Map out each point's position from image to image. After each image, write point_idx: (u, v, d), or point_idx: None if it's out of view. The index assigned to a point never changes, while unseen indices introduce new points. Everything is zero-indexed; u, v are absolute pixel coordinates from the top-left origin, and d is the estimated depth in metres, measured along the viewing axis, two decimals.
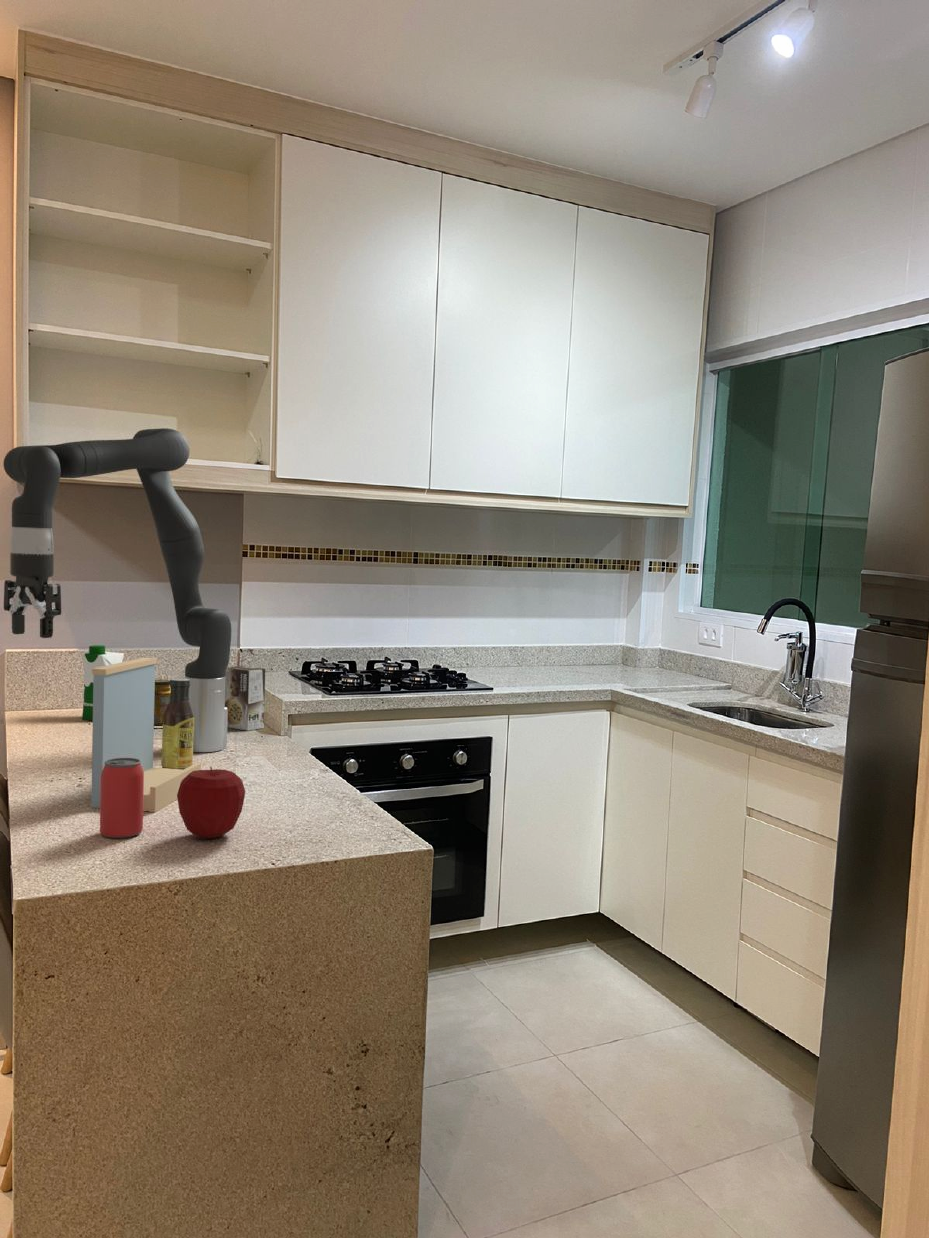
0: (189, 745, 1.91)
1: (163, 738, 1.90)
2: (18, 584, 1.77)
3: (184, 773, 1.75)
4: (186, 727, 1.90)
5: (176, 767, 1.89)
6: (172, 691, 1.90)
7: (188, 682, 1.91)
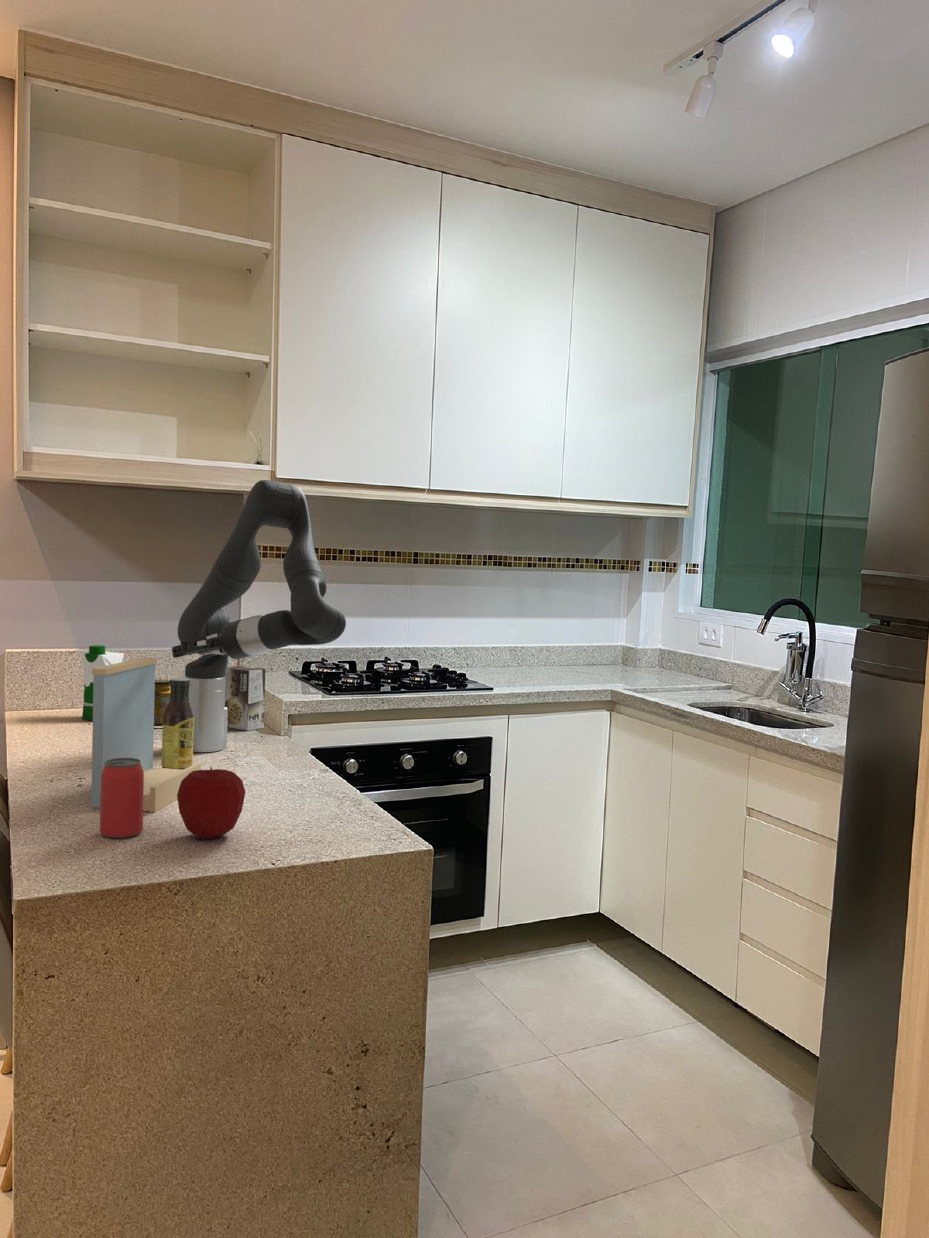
0: (189, 745, 1.91)
1: (163, 738, 1.90)
2: (217, 648, 1.81)
3: (184, 773, 1.75)
4: (186, 727, 1.90)
5: (176, 767, 1.89)
6: (172, 691, 1.90)
7: (188, 682, 1.91)
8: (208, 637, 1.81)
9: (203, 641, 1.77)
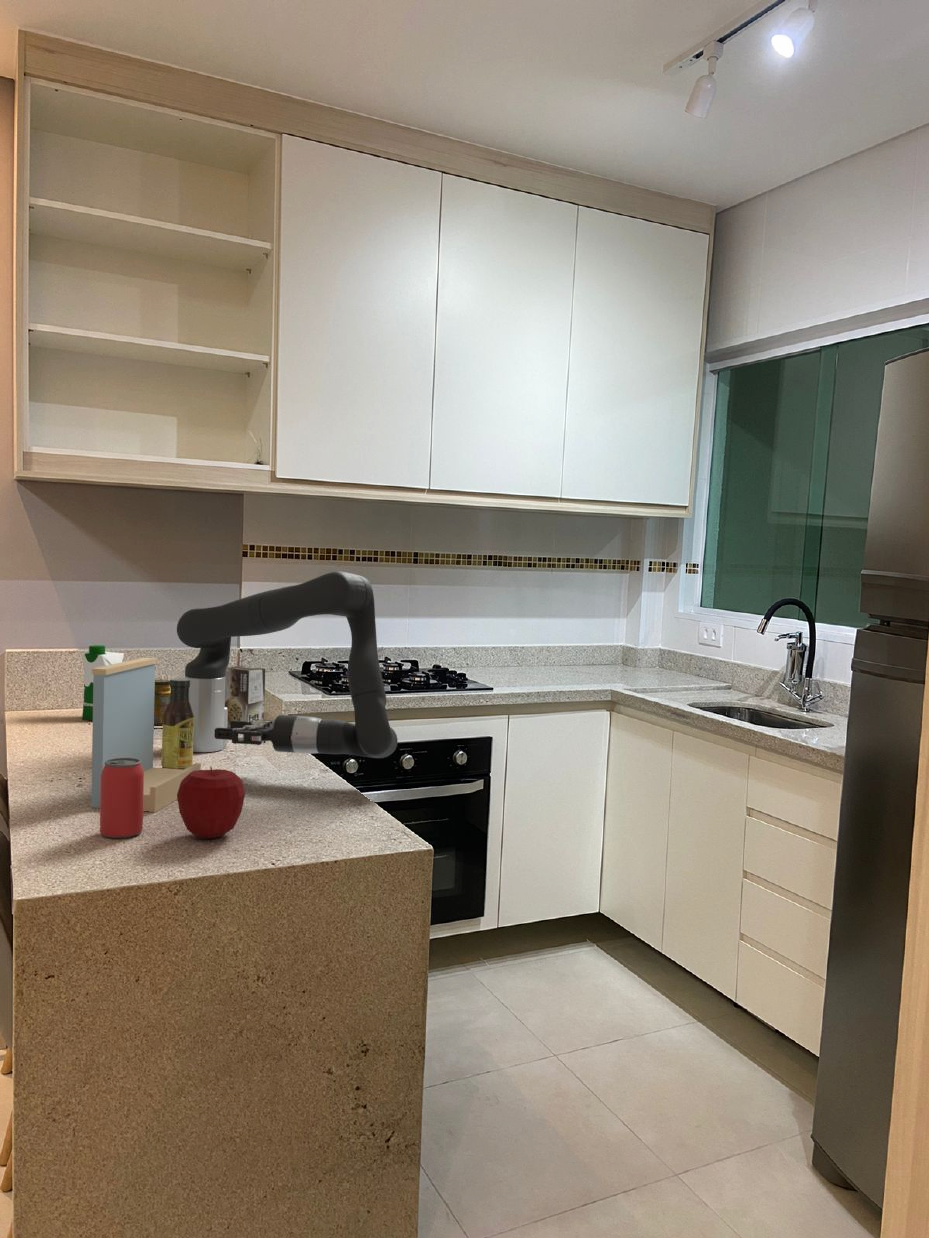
0: (189, 745, 1.91)
1: (163, 738, 1.90)
2: None
3: (184, 773, 1.75)
4: (186, 727, 1.90)
5: (176, 767, 1.89)
6: (172, 691, 1.90)
7: (188, 682, 1.91)
8: (256, 727, 1.87)
9: (259, 737, 1.83)
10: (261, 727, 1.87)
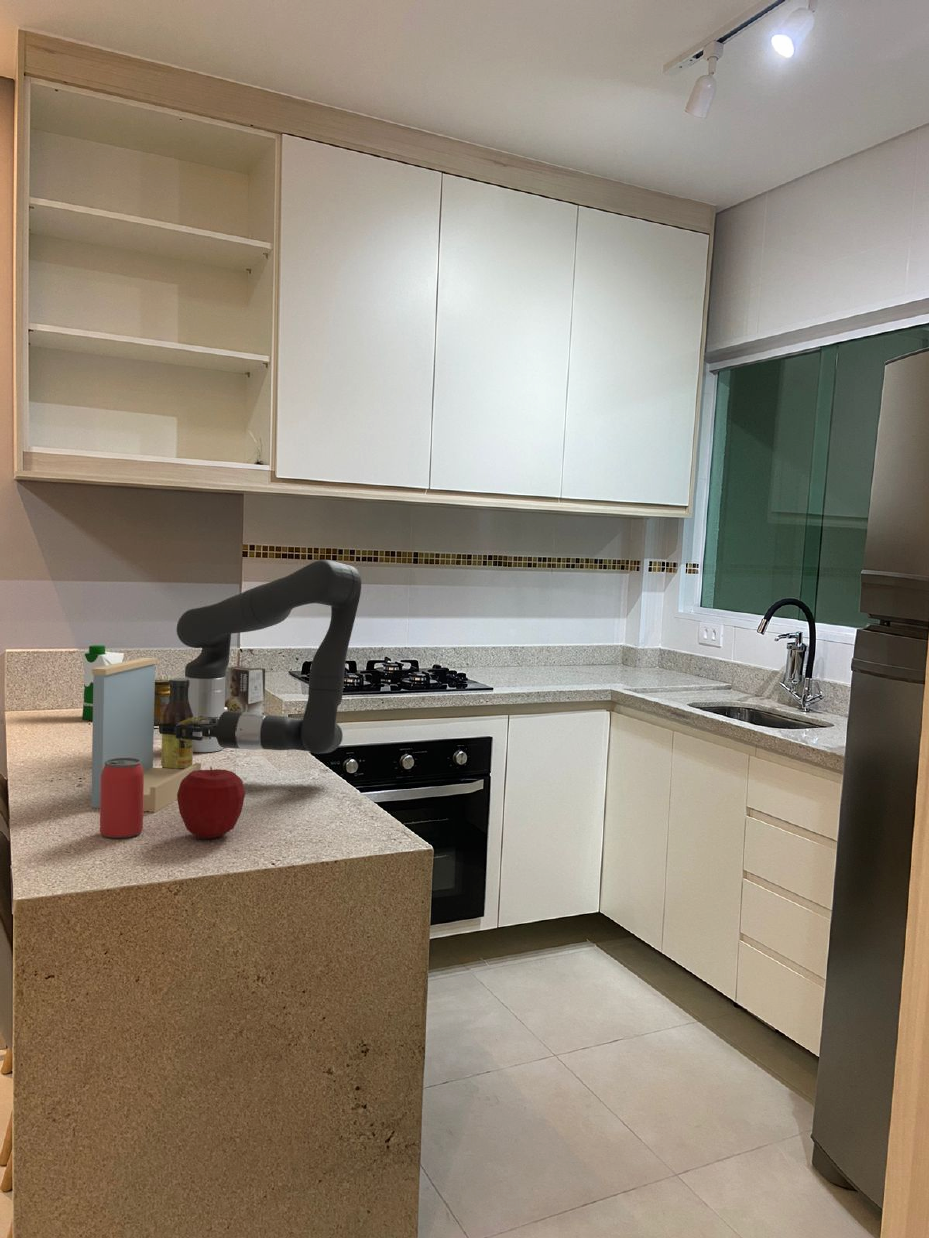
0: (189, 745, 1.91)
1: (163, 738, 1.90)
2: None
3: (184, 773, 1.75)
4: None
5: (176, 767, 1.89)
6: (171, 691, 1.90)
7: (187, 682, 1.91)
8: (200, 723, 1.88)
9: (199, 733, 1.84)
10: (206, 724, 1.89)
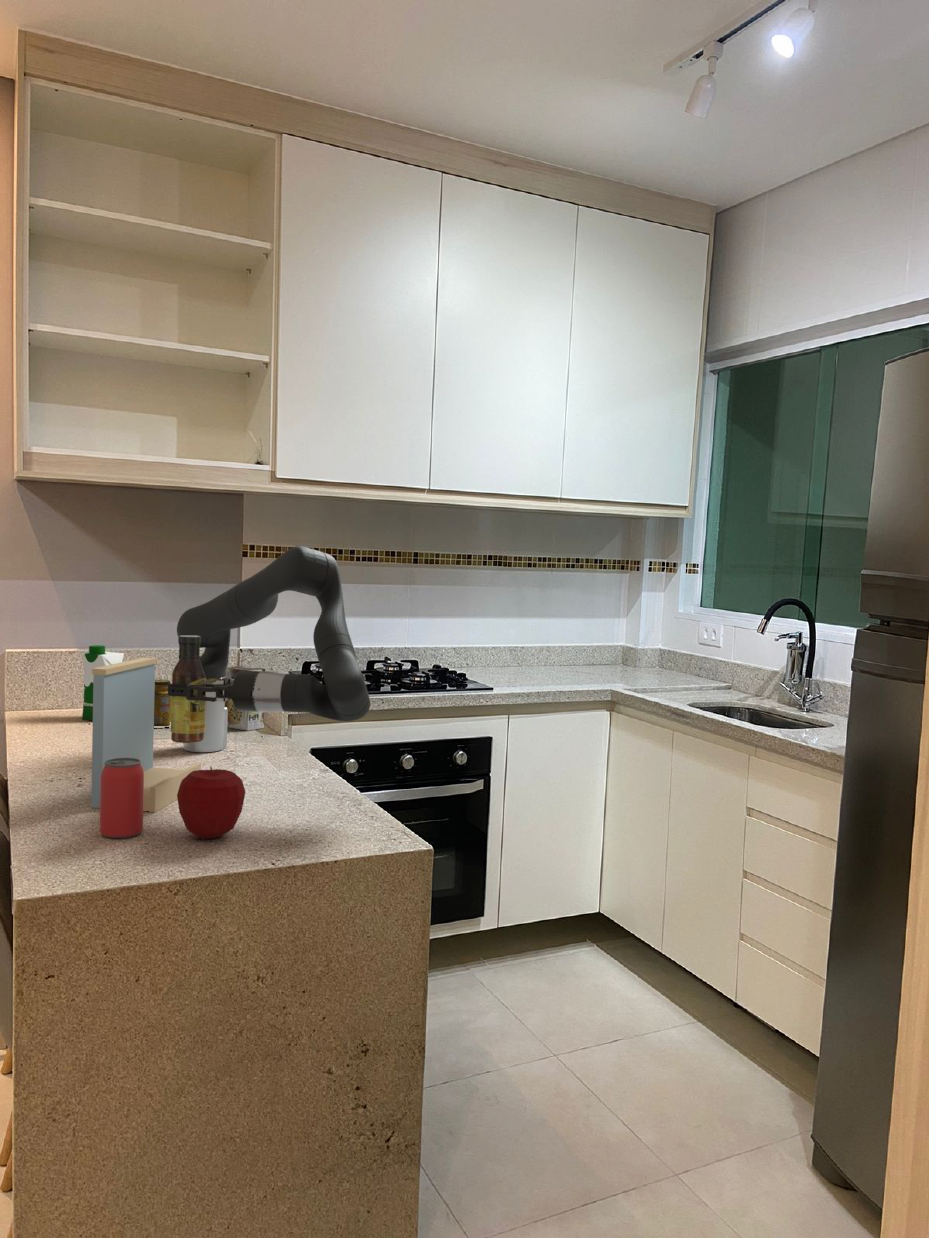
0: (201, 709, 1.72)
1: (172, 701, 1.71)
2: None
3: (184, 773, 1.75)
4: None
5: (187, 733, 1.70)
6: (181, 649, 1.71)
7: (198, 639, 1.72)
8: (213, 683, 1.70)
9: (213, 693, 1.65)
10: (220, 684, 1.70)
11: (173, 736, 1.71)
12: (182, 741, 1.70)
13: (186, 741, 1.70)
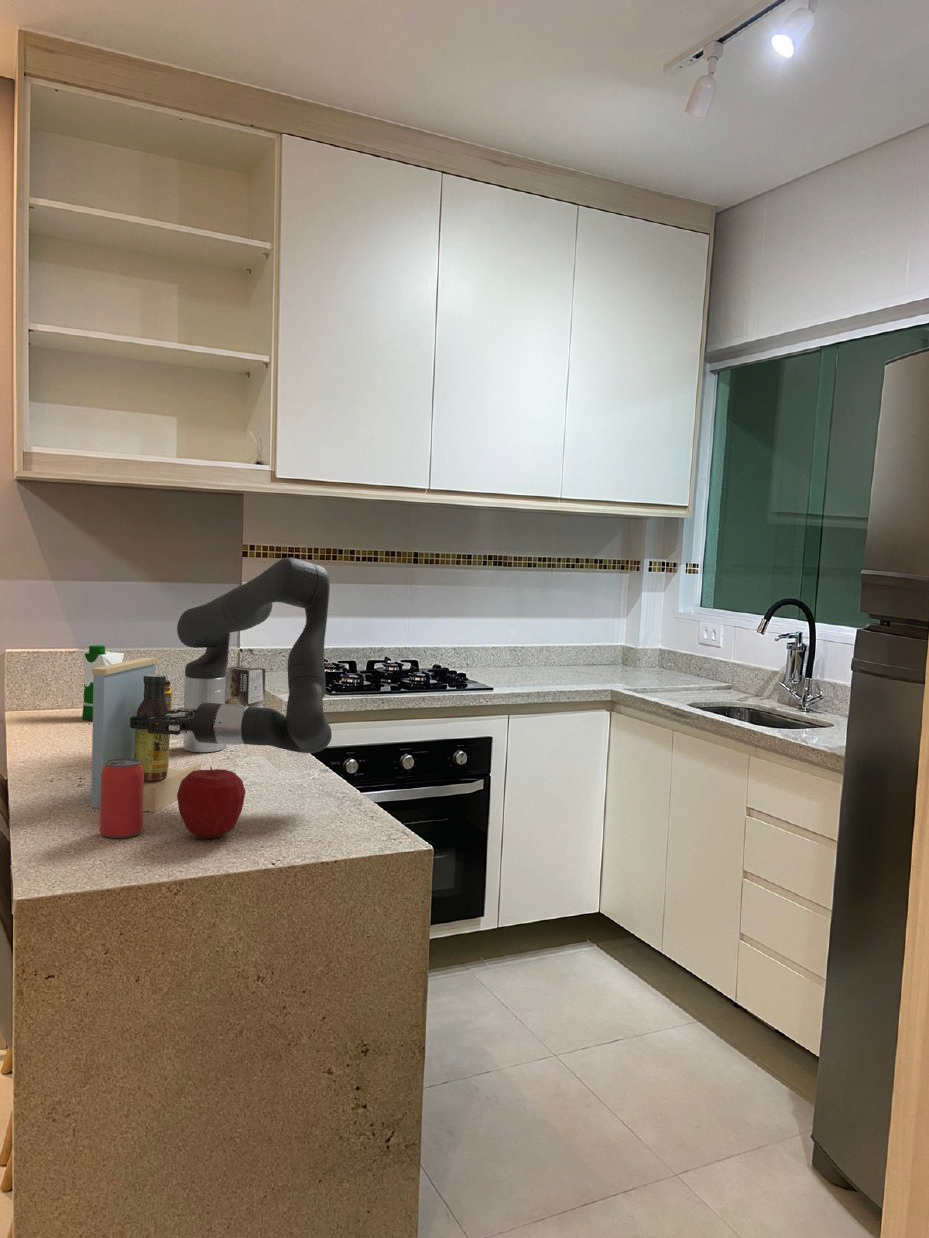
0: (165, 748, 1.73)
1: (136, 740, 1.72)
2: None
3: (184, 773, 1.75)
4: None
5: (150, 772, 1.72)
6: (145, 688, 1.73)
7: (164, 678, 1.74)
8: (176, 715, 1.71)
9: (177, 726, 1.67)
10: (182, 716, 1.71)
11: None
12: (145, 780, 1.72)
13: (148, 780, 1.72)
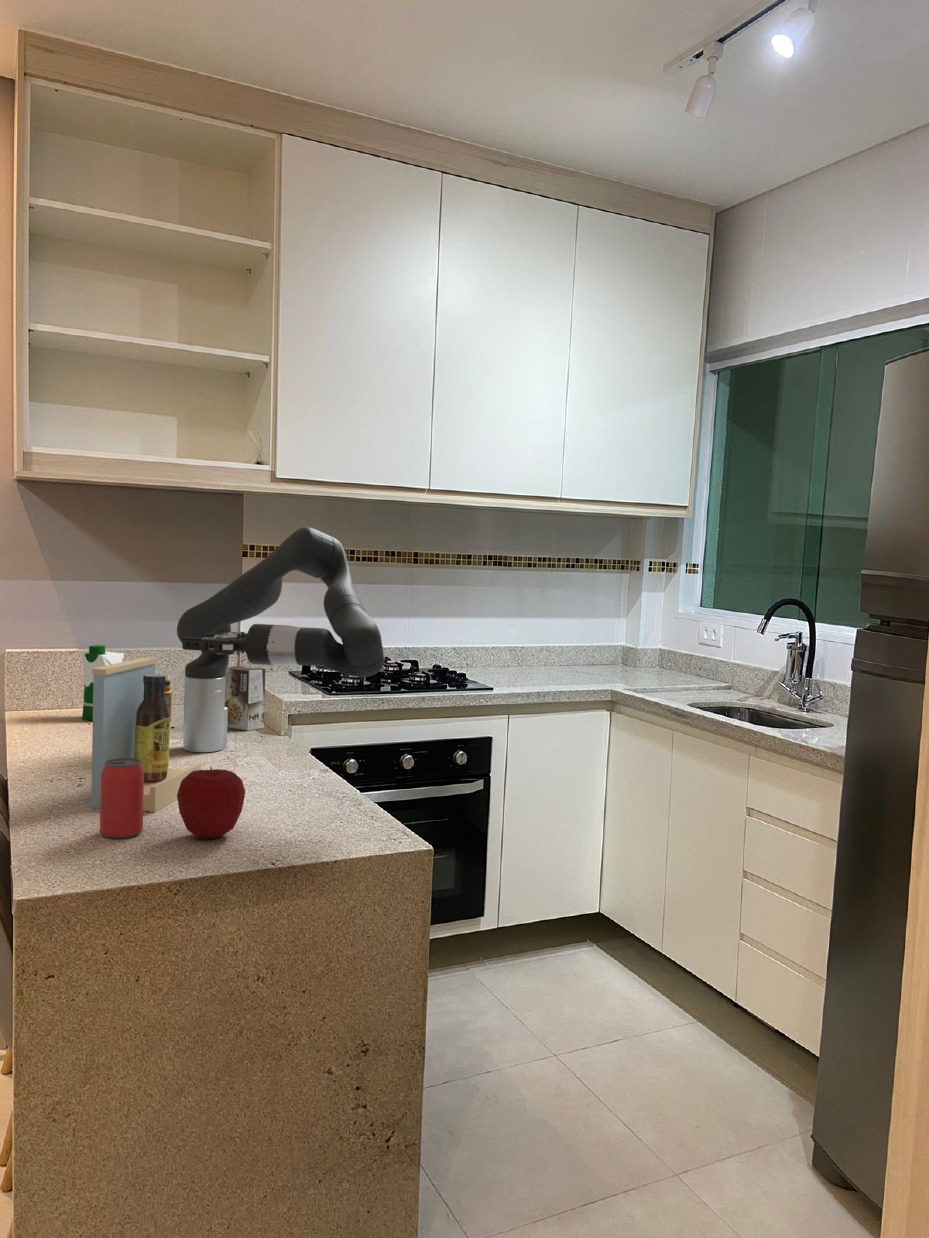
0: (165, 748, 1.73)
1: (136, 740, 1.72)
2: None
3: (184, 773, 1.75)
4: (160, 728, 1.72)
5: (150, 772, 1.72)
6: (145, 688, 1.73)
7: (163, 678, 1.74)
8: (228, 636, 1.69)
9: (231, 646, 1.64)
10: (234, 637, 1.69)
11: None
12: (145, 780, 1.72)
13: (148, 780, 1.72)
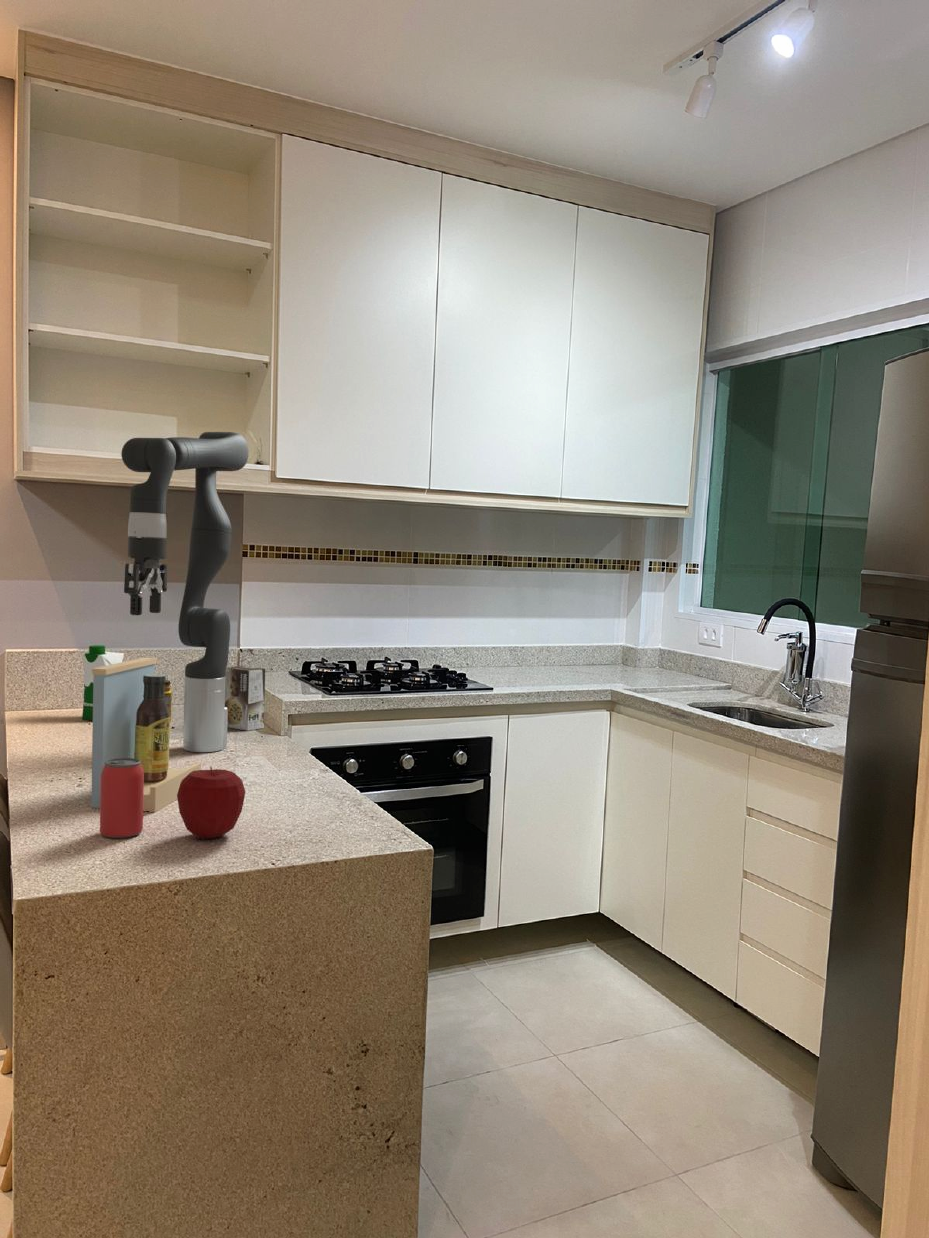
0: (165, 748, 1.73)
1: (136, 740, 1.72)
2: (145, 567, 1.87)
3: (184, 773, 1.75)
4: (160, 728, 1.72)
5: (150, 772, 1.72)
6: (145, 688, 1.73)
7: (163, 678, 1.74)
8: None
9: (130, 565, 1.84)
10: None
11: None
12: (145, 780, 1.72)
13: (148, 780, 1.72)
